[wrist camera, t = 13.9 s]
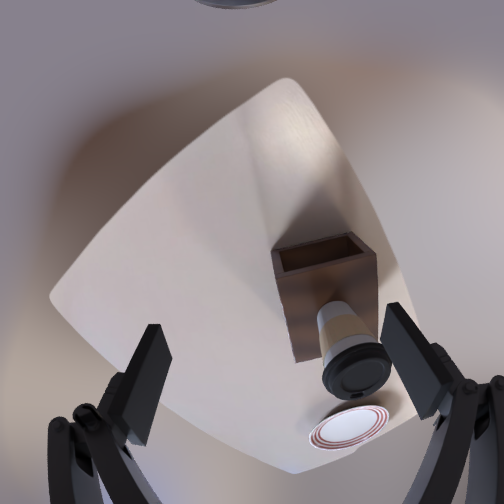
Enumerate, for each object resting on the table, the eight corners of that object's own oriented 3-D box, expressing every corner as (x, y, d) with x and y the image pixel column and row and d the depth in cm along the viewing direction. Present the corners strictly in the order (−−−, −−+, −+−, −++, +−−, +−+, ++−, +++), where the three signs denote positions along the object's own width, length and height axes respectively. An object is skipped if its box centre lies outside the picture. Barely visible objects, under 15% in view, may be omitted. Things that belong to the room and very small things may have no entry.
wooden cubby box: (270, 250, 51) (275, 278, 40) (352, 231, 49) (376, 253, 39) (288, 327, 57) (295, 363, 46) (359, 308, 56) (377, 341, 45)
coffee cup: (318, 345, 45) (338, 412, 31) (296, 307, 42) (313, 377, 28) (367, 321, 43) (401, 382, 29) (350, 279, 40) (389, 339, 26)
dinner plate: (297, 419, 70) (298, 428, 67) (383, 387, 66) (386, 395, 63) (319, 450, 79) (320, 457, 76) (388, 424, 75) (391, 431, 72)
